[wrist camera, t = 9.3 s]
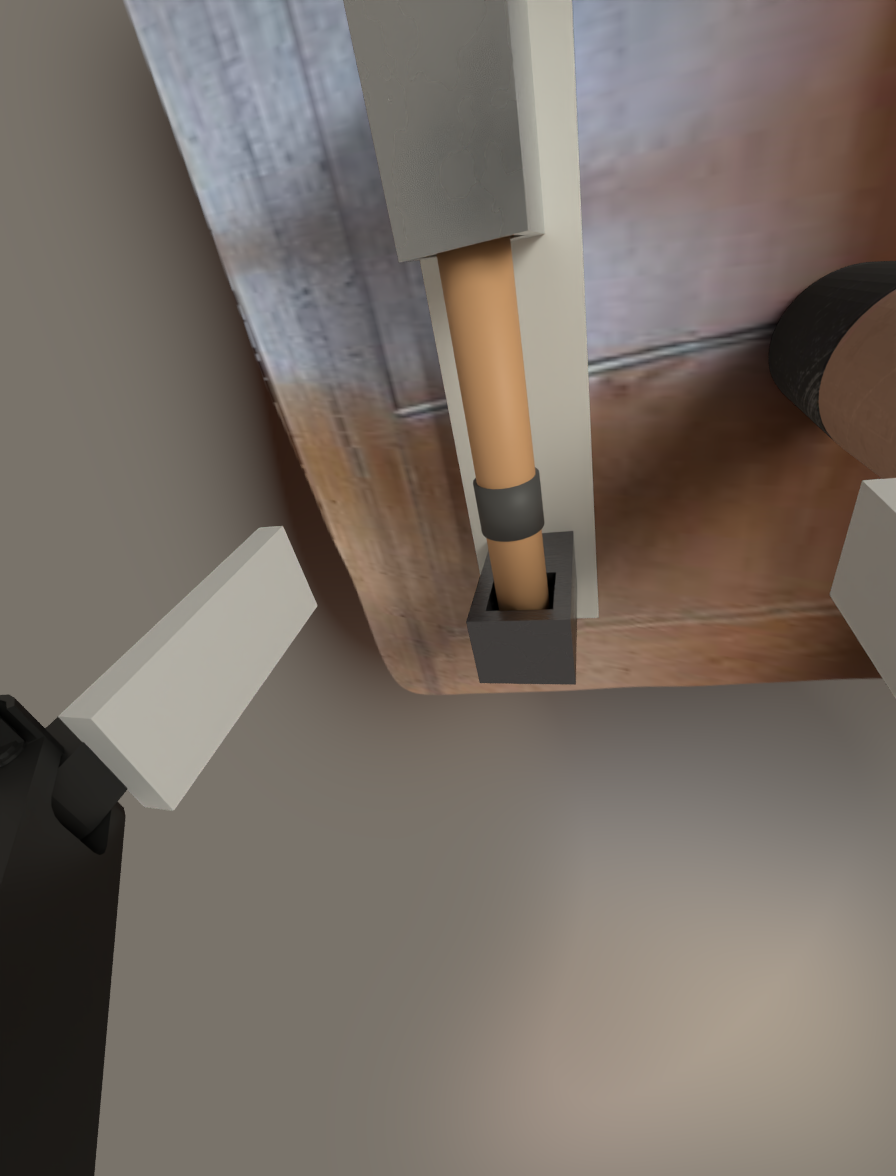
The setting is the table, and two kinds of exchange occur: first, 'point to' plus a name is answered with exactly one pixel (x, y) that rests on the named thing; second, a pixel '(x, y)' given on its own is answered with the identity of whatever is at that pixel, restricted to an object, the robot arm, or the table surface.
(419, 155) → the light grey block
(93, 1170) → the robot arm
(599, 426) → the table surface
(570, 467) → the baseboard
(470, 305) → the orange tube
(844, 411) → the travel mug
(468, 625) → the charcoal socket
